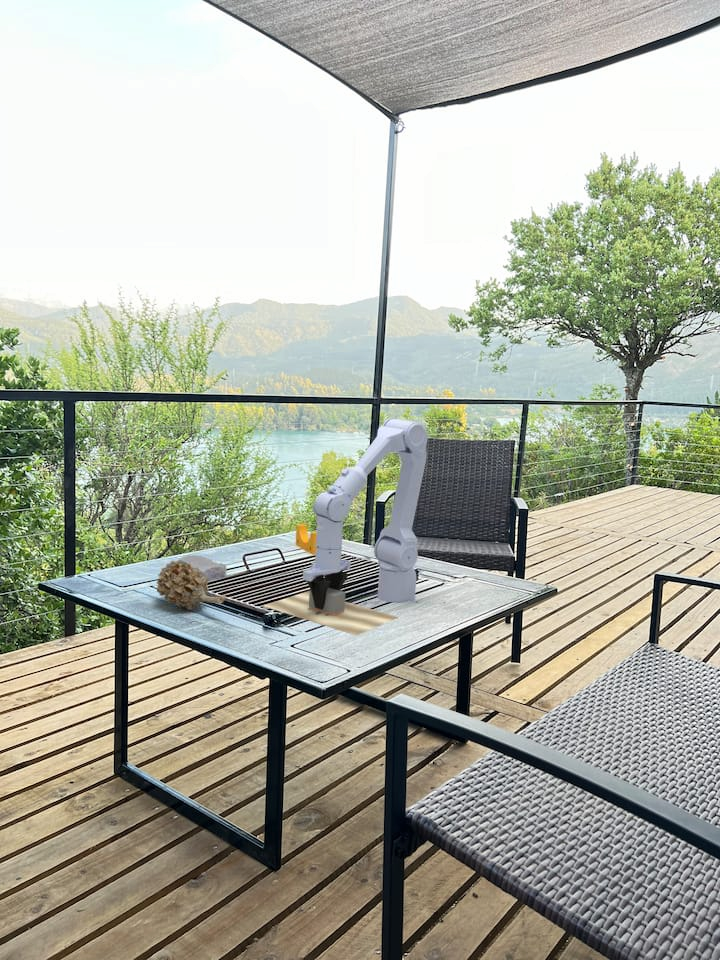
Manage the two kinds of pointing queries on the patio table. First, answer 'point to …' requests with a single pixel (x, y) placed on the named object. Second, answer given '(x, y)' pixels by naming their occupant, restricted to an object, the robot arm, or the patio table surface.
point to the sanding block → (330, 602)
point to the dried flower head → (184, 586)
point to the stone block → (205, 566)
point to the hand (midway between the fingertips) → (325, 605)
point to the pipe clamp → (305, 539)
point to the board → (347, 621)
